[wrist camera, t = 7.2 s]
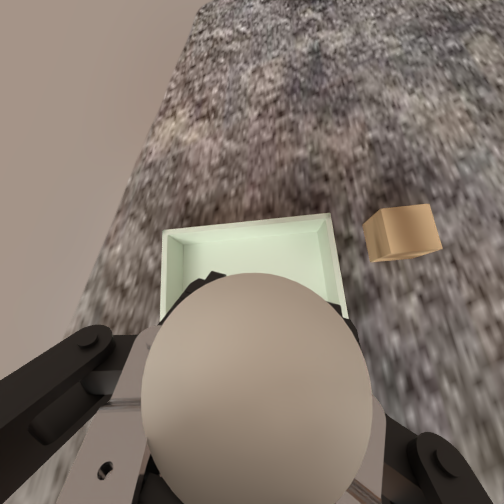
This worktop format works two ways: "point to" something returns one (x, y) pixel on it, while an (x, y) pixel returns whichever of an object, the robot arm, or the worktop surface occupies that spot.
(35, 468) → the robot arm
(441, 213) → the worktop surface
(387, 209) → the oak block
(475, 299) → the worktop surface
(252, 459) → the shaker
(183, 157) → the worktop surface
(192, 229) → the box
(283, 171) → the worktop surface
